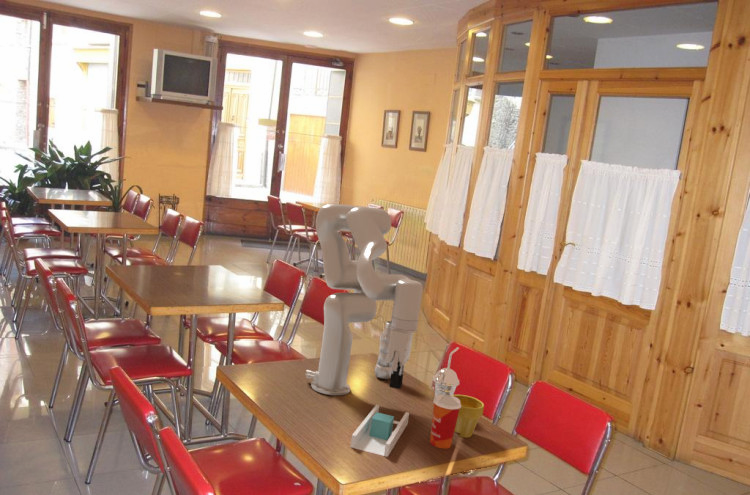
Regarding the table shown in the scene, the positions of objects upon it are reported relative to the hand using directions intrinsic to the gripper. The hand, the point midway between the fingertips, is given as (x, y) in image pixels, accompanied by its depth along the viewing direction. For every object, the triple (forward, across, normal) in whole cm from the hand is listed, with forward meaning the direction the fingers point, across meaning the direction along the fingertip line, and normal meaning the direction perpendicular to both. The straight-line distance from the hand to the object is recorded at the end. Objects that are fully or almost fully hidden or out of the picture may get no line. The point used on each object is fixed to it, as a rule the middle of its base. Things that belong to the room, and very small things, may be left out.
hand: (395, 387), depth 184 cm
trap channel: (+12, +8, -1) cm, 15 cm away
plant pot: (+13, -10, +19) cm, 25 cm away
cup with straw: (+12, -24, +11) cm, 29 cm away
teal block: (+11, +8, -1) cm, 14 cm away
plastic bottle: (+12, -42, -13) cm, 46 cm away
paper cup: (+13, +4, +15) cm, 20 cm away
